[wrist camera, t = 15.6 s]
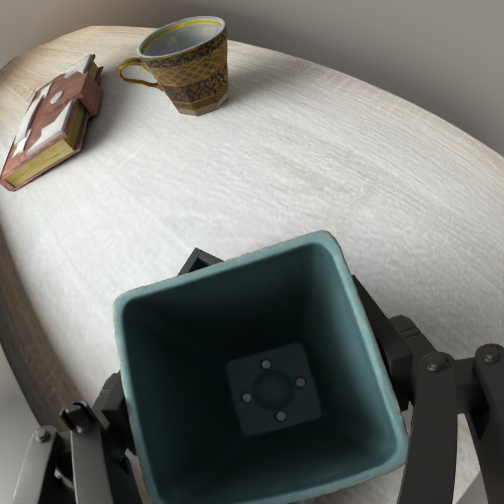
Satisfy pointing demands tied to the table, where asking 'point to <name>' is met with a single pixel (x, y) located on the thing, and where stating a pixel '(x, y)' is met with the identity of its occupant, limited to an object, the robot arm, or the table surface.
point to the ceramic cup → (187, 63)
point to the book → (54, 123)
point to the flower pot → (257, 380)
